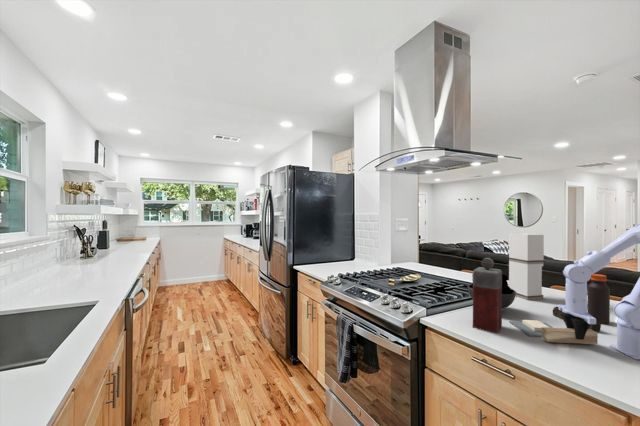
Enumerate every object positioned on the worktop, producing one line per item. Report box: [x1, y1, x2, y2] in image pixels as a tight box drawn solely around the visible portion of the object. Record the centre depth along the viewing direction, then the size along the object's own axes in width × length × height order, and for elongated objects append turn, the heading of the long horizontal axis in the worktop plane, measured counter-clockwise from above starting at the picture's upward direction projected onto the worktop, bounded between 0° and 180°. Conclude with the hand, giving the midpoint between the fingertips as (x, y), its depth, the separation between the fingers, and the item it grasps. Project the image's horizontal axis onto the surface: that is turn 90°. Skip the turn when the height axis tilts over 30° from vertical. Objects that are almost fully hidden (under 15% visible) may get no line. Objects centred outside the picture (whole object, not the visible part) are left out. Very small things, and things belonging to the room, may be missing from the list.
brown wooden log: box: [552, 306, 602, 333], centre depth 120 cm, size 19×4×5 cm, turn 3°
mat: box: [509, 320, 555, 338], centre depth 112 cm, size 14×14×1 cm
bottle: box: [587, 273, 611, 325], centre depth 122 cm, size 7×7×20 cm
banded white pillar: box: [508, 232, 545, 301], centre depth 159 cm, size 11×11×35 cm
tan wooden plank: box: [541, 327, 599, 345], centre depth 101 cm, size 3×16×4 cm, turn 83°
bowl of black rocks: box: [467, 268, 517, 310], centre depth 137 cm, size 20×20×19 cm
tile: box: [521, 319, 548, 332], centre depth 113 cm, size 2×6×8 cm
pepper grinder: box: [472, 257, 503, 334], centre depth 116 cm, size 9×11×28 cm
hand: (575, 336), depth 101 cm, fingers closed on tan wooden plank, 3 cm apart
